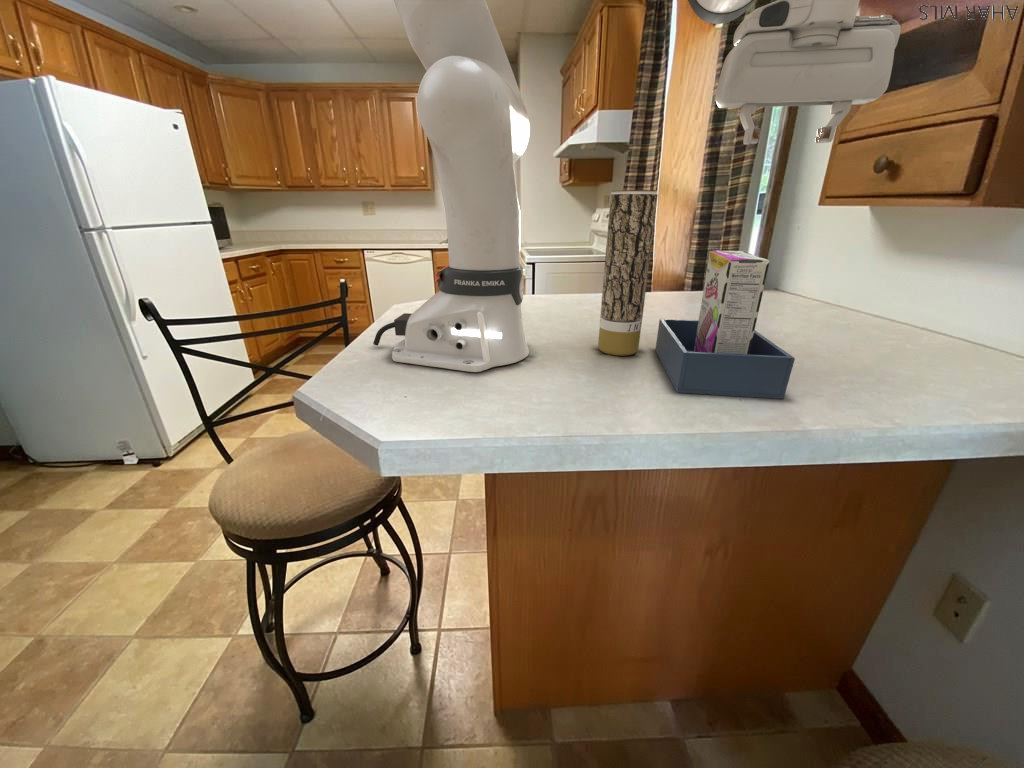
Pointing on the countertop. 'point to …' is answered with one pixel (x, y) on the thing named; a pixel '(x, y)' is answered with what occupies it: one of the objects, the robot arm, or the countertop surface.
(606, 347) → the paper tube
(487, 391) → the countertop surface
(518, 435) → the countertop surface
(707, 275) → the candy bar box
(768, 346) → the tote
